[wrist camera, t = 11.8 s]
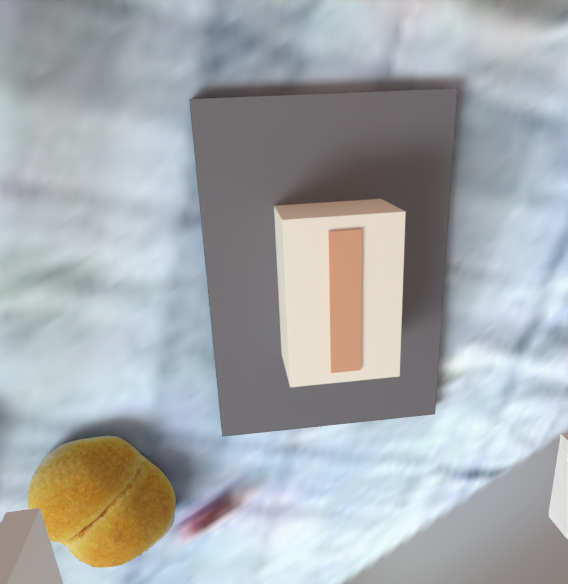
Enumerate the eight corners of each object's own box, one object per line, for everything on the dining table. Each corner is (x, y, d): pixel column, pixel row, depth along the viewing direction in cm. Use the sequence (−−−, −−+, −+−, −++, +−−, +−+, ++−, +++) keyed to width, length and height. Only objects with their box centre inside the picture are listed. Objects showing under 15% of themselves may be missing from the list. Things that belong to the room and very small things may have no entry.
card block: (281, 354, 31) (290, 388, 27) (273, 205, 28) (282, 220, 24) (378, 344, 31) (400, 377, 27) (380, 198, 28) (406, 212, 24)
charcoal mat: (190, 99, 26) (189, 99, 25) (450, 89, 27) (457, 88, 27) (222, 429, 33) (222, 436, 32) (430, 407, 34) (435, 414, 33)
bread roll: (96, 406, 31) (79, 446, 28) (196, 488, 34) (193, 534, 31) (5, 484, 32) (-23, 533, 29) (110, 557, 35) (96, 610, 32)
